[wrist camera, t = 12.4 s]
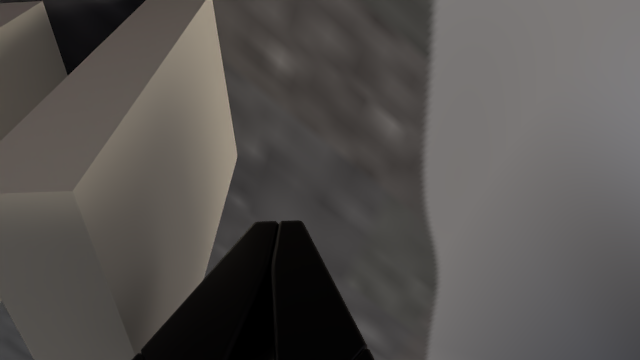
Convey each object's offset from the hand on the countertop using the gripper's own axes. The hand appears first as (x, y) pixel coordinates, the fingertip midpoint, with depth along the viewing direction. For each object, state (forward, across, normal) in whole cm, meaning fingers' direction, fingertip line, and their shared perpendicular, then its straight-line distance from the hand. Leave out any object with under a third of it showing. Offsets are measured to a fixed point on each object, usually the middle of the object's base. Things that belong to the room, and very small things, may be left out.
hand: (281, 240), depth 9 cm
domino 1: (+7, +3, 0) cm, 8 cm away
